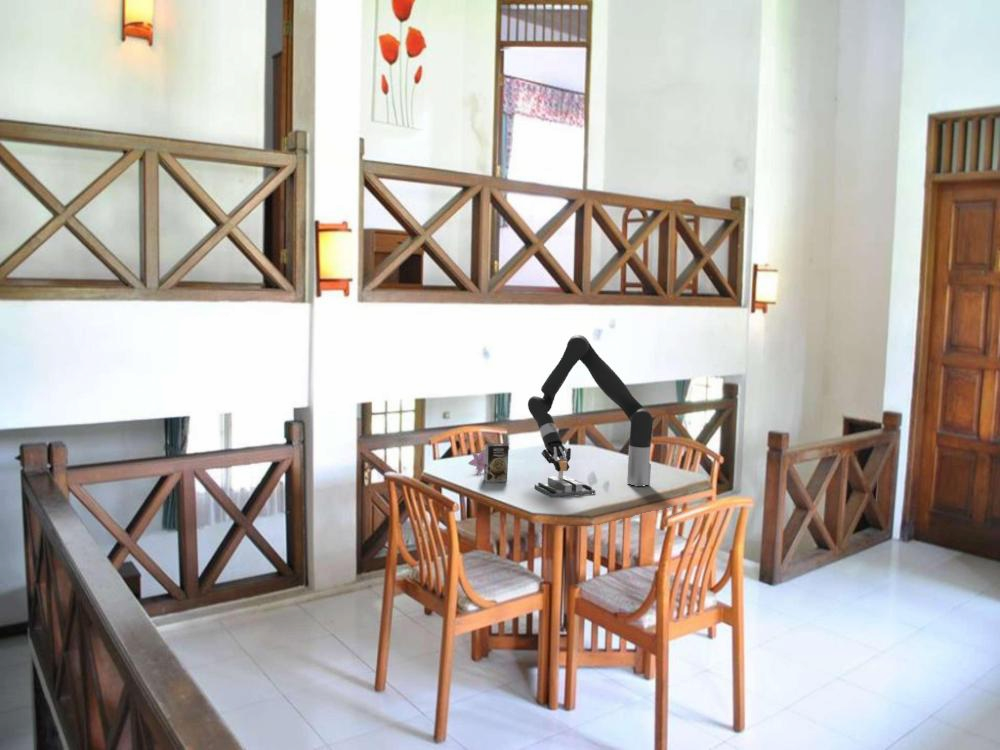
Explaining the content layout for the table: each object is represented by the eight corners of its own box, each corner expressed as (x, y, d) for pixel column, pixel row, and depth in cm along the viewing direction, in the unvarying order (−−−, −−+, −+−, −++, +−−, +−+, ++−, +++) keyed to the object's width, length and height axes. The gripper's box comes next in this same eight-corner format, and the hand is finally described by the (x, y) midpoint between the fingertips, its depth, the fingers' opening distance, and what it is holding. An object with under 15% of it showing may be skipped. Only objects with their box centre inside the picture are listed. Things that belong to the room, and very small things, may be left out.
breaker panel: (575, 484, 356) (576, 474, 356) (595, 493, 342) (595, 483, 341) (534, 488, 348) (534, 477, 347) (552, 497, 333) (553, 486, 333)
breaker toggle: (561, 482, 350) (562, 459, 349) (565, 485, 347) (567, 461, 346) (554, 483, 349) (555, 460, 348) (559, 485, 345) (560, 462, 344)
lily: (463, 476, 369) (471, 459, 365) (464, 460, 379) (471, 444, 375) (488, 484, 371) (496, 468, 367) (488, 468, 382) (496, 452, 377)
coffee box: (487, 482, 354) (488, 445, 352) (483, 479, 360) (484, 442, 358) (507, 482, 356) (509, 445, 354) (503, 478, 362) (505, 442, 360)
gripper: (539, 431, 349) (551, 466, 340) (568, 430, 355) (581, 464, 346) (532, 441, 355) (545, 476, 345) (561, 440, 361) (574, 473, 351)
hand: (563, 470), depth 345 cm, fingers closed on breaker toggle, 3 cm apart
